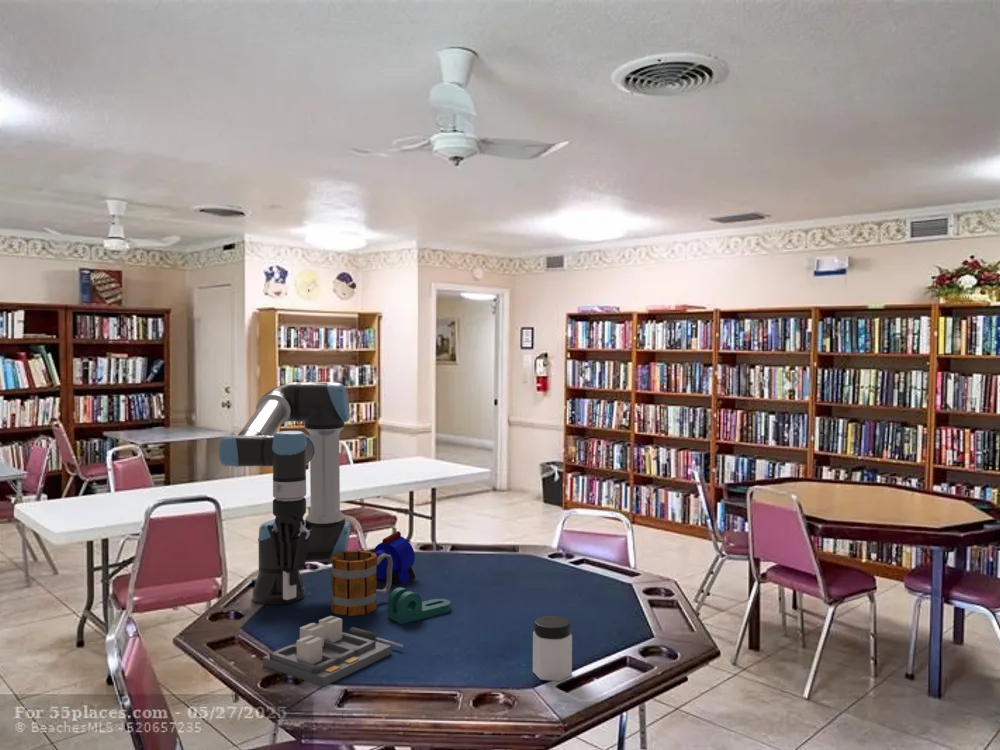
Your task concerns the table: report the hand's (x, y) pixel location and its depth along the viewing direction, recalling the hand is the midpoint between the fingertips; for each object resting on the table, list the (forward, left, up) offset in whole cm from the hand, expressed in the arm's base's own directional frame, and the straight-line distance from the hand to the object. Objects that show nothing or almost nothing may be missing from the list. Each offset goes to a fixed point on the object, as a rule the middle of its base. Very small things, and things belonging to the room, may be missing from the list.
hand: (289, 597), depth 175 cm
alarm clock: (-26, +65, -16) cm, 72 cm away
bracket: (+4, +44, -16) cm, 47 cm away
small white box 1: (+7, 0, -13) cm, 15 cm away
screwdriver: (+8, +21, -16) cm, 27 cm away
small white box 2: (+1, +12, -13) cm, 18 cm away
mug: (-15, +40, -16) cm, 46 cm away
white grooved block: (+1, +6, -13) cm, 15 cm away
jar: (+54, +30, -16) cm, 63 cm away
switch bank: (+6, +7, -16) cm, 18 cm away
